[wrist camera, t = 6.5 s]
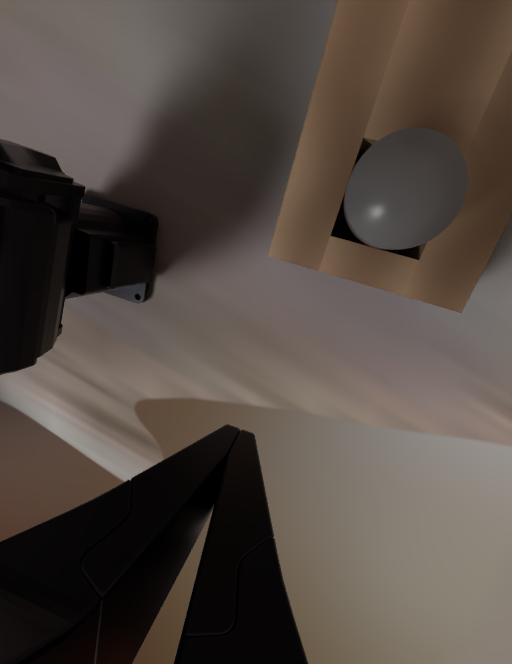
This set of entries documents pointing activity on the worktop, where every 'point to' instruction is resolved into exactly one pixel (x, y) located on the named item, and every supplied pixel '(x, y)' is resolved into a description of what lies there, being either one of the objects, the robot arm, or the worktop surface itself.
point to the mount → (401, 113)
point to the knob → (406, 189)
